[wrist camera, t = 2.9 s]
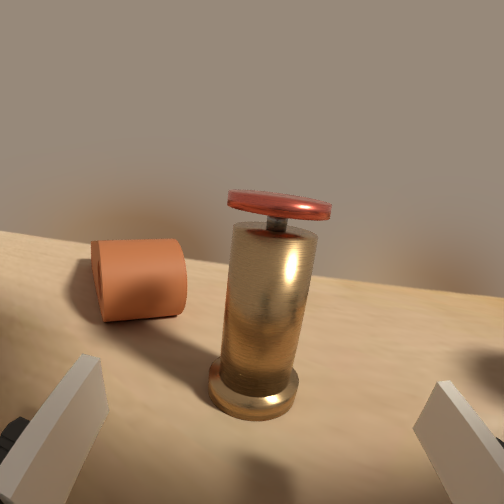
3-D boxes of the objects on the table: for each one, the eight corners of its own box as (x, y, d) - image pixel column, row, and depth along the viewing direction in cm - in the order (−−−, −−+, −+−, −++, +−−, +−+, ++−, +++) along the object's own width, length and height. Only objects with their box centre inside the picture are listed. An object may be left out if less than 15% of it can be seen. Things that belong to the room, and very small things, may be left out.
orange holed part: (185, 328, 30) (189, 250, 28) (106, 337, 26) (101, 253, 24) (141, 264, 46) (143, 213, 44) (91, 267, 42) (91, 213, 40)
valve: (289, 369, 25) (321, 198, 21) (299, 422, 18) (349, 211, 15) (212, 362, 24) (228, 186, 21) (203, 416, 18) (220, 193, 15)
